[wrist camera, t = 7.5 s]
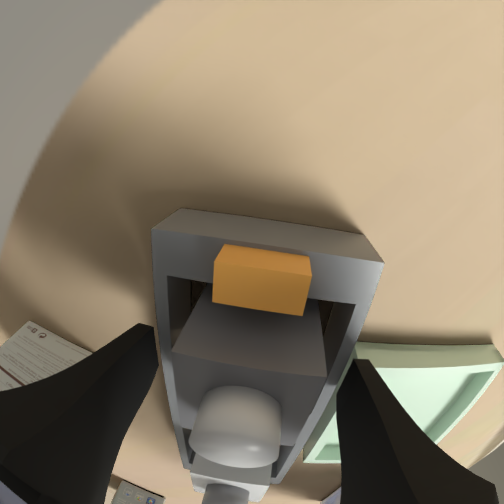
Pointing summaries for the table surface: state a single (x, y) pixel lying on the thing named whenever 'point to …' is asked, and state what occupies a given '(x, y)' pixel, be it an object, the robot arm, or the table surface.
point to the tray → (415, 388)
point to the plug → (247, 379)
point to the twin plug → (229, 482)
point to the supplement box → (35, 356)
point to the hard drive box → (134, 495)
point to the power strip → (262, 289)
